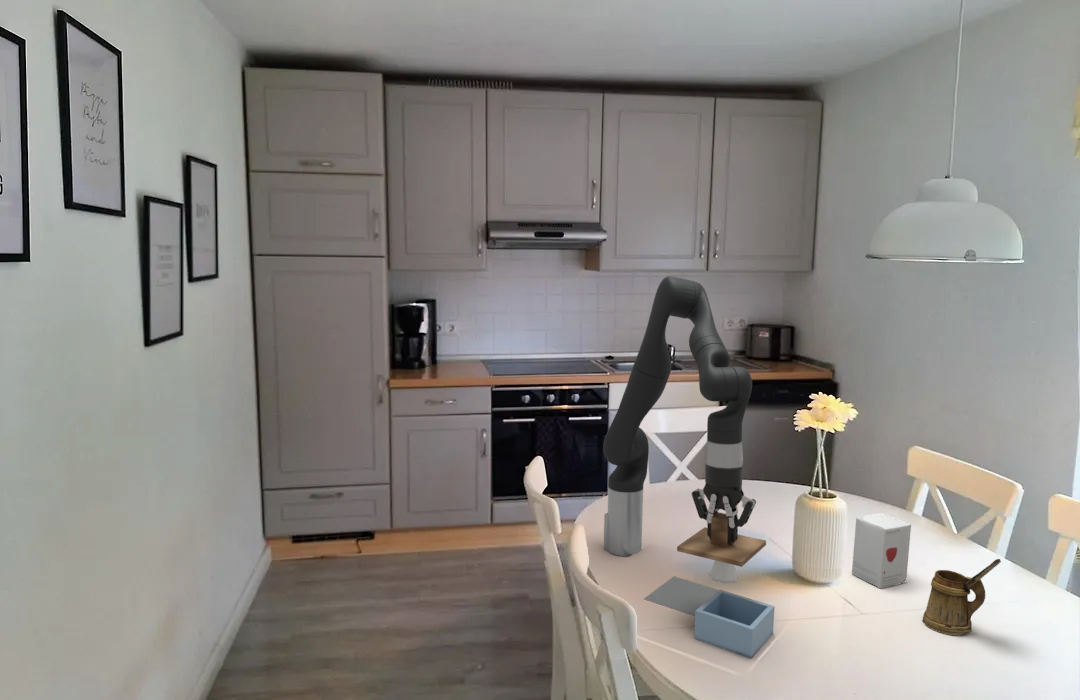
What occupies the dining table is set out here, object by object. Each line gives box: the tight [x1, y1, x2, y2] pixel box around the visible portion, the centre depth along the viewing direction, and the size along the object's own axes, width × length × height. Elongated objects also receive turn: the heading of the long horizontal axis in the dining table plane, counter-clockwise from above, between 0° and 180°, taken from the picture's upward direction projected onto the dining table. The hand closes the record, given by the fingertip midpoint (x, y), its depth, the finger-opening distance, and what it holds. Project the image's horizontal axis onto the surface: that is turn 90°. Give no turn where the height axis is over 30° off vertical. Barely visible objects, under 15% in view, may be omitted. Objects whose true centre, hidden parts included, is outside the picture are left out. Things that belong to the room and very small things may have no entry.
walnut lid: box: [676, 511, 767, 568], centre depth 153 cm, size 14×14×7 cm
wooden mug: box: [922, 558, 1001, 636], centre depth 152 cm, size 9×14×18 cm, turn 38°
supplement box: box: [851, 512, 912, 589], centre depth 176 cm, size 9×9×15 cm
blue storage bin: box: [693, 589, 776, 659], centre depth 148 cm, size 12×12×6 cm
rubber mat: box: [643, 575, 720, 617], centre depth 166 cm, size 15×15×1 cm
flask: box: [708, 560, 739, 584], centre depth 176 cm, size 7×7×10 cm
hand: (722, 540), depth 153 cm, fingers closed on walnut lid, 3 cm apart
